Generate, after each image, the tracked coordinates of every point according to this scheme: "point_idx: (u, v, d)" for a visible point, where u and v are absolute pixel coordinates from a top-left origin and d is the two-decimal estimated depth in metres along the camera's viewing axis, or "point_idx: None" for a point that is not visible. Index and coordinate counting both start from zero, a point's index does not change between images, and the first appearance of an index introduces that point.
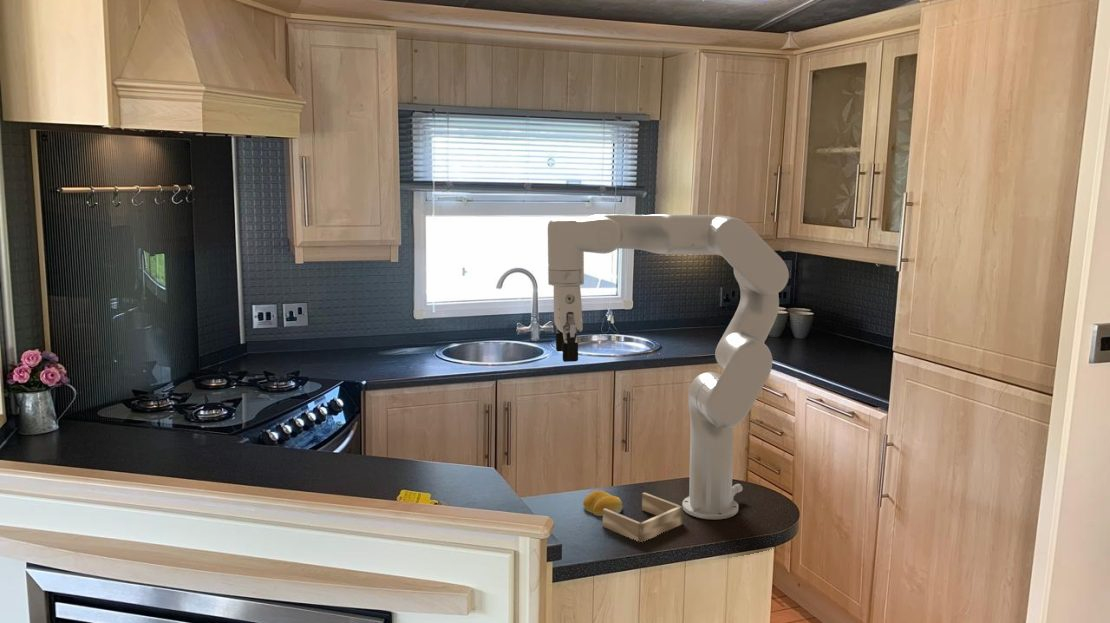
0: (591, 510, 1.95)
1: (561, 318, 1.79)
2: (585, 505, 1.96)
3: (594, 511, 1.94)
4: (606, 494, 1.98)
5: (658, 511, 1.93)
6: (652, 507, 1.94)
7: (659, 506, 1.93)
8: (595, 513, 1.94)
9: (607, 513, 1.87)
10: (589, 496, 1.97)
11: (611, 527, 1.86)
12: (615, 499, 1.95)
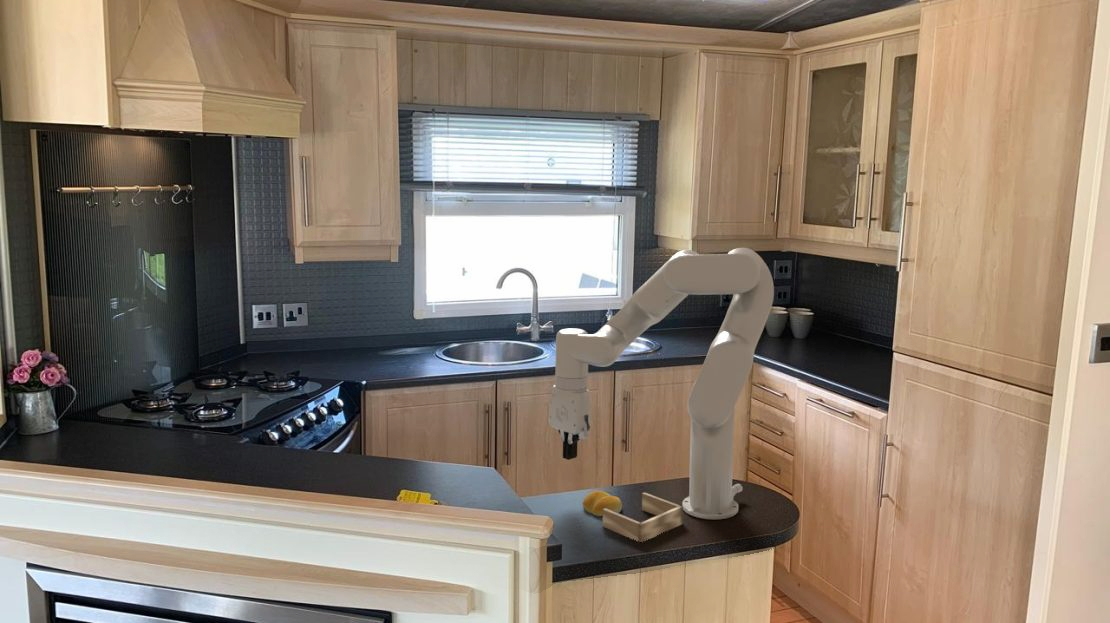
0: (590, 510, 1.95)
1: None
2: (584, 505, 1.96)
3: (594, 511, 1.94)
4: (605, 494, 1.98)
5: (658, 511, 1.93)
6: (652, 507, 1.94)
7: (659, 506, 1.93)
8: (594, 513, 1.94)
9: (607, 513, 1.87)
10: (588, 496, 1.97)
11: (611, 527, 1.86)
12: (614, 499, 1.95)
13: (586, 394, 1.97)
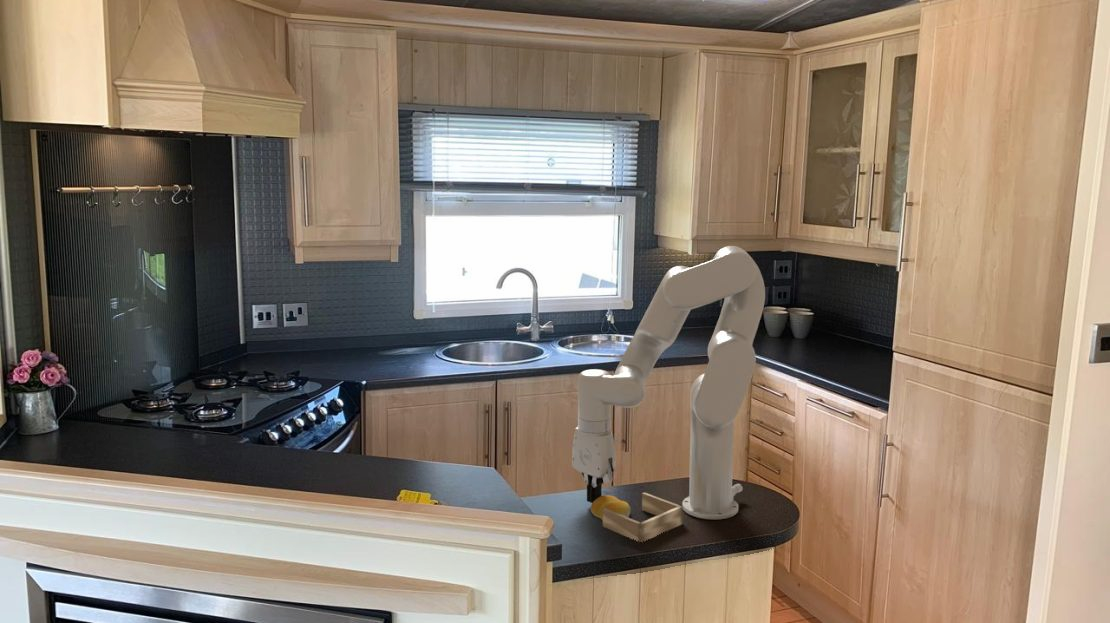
0: (598, 515, 1.93)
1: None
2: (592, 510, 1.94)
3: (601, 515, 1.91)
4: (614, 498, 1.96)
5: (658, 511, 1.93)
6: (652, 507, 1.94)
7: (659, 506, 1.93)
8: (602, 518, 1.91)
9: (607, 513, 1.87)
10: (596, 500, 1.95)
11: (611, 527, 1.86)
12: (623, 504, 1.92)
13: (610, 436, 1.93)
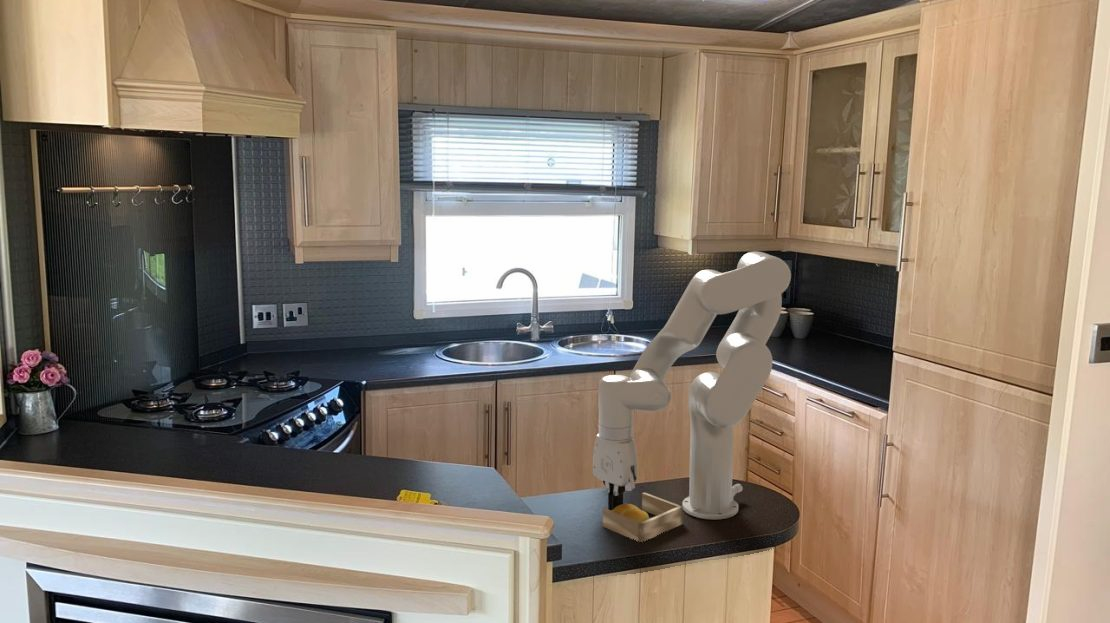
0: None
1: None
2: None
3: None
4: (633, 507, 1.90)
5: (658, 511, 1.93)
6: (652, 507, 1.94)
7: (659, 506, 1.93)
8: None
9: (607, 513, 1.87)
10: (615, 509, 1.90)
11: (611, 527, 1.86)
12: (641, 514, 1.87)
13: (632, 444, 1.89)
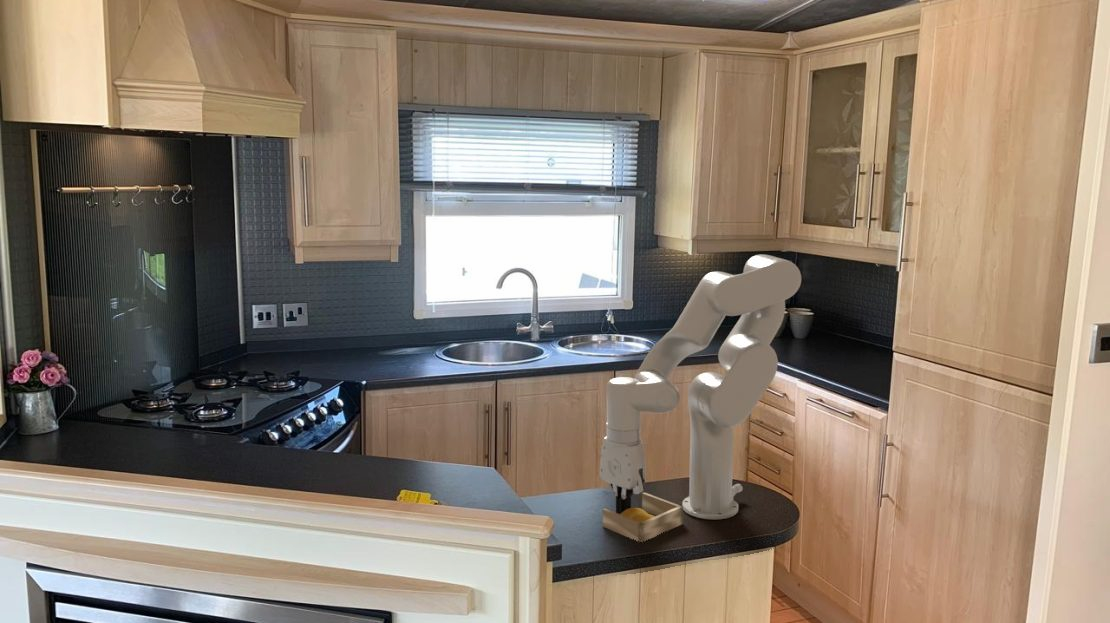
0: None
1: None
2: None
3: None
4: (641, 511, 1.88)
5: (658, 511, 1.93)
6: (652, 507, 1.94)
7: (659, 506, 1.93)
8: None
9: (607, 513, 1.87)
10: (623, 513, 1.88)
11: (611, 527, 1.86)
12: (649, 518, 1.85)
13: (640, 446, 1.87)
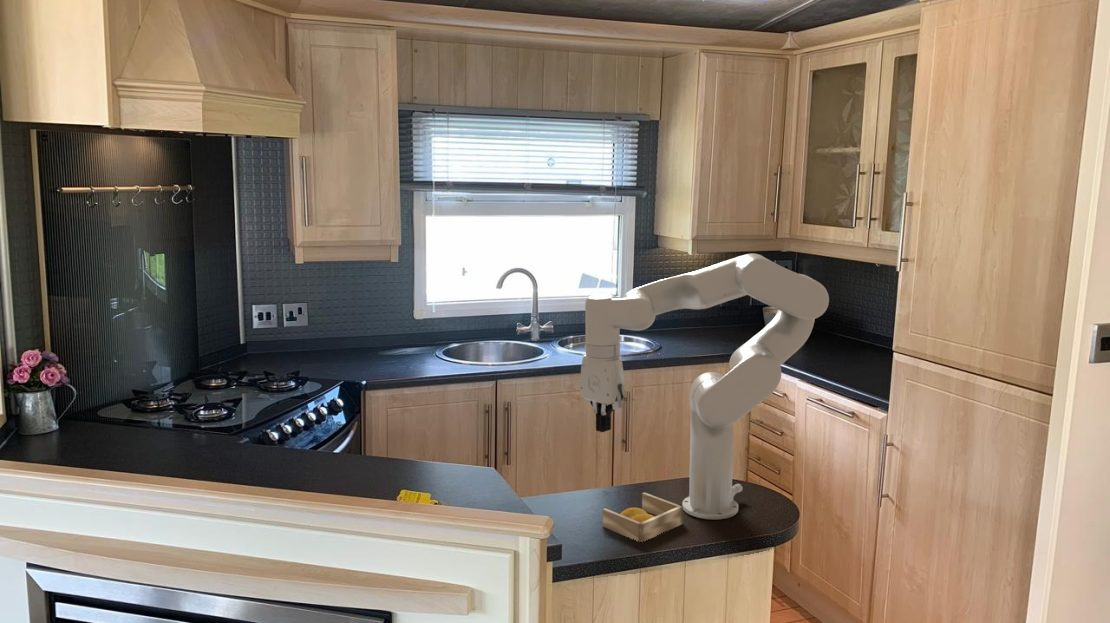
0: None
1: None
2: None
3: None
4: (641, 511, 1.88)
5: (658, 511, 1.93)
6: (652, 507, 1.94)
7: (659, 506, 1.93)
8: None
9: (607, 513, 1.87)
10: (622, 513, 1.88)
11: (611, 527, 1.86)
12: (649, 518, 1.85)
13: (619, 362, 1.89)
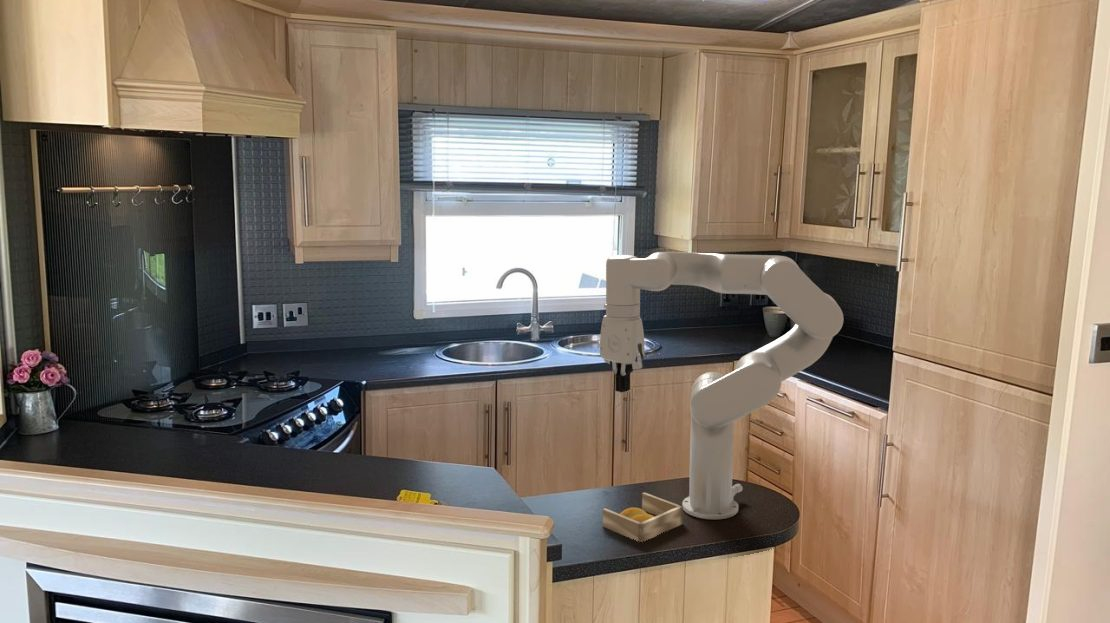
0: None
1: None
2: None
3: None
4: (640, 511, 1.88)
5: (658, 511, 1.93)
6: (652, 507, 1.94)
7: (659, 506, 1.93)
8: None
9: (607, 513, 1.87)
10: (622, 513, 1.88)
11: (611, 527, 1.86)
12: (649, 518, 1.85)
13: (639, 322, 1.90)
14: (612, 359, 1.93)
